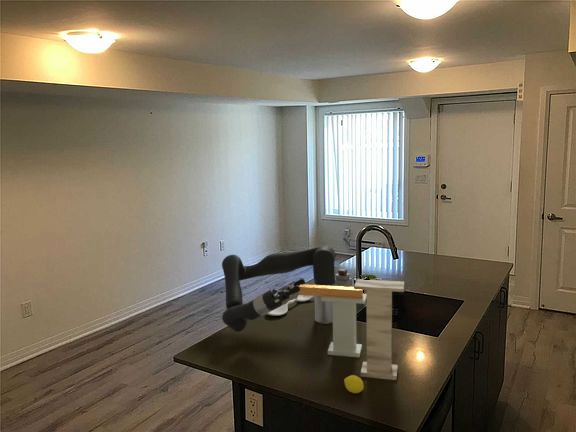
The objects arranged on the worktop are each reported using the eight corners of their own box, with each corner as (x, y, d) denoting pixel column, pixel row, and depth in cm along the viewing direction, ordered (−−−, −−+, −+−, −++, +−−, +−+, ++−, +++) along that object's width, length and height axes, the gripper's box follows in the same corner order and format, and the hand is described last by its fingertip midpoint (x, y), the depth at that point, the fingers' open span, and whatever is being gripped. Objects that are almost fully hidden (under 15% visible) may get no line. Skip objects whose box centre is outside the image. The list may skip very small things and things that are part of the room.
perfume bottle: (340, 302, 235) (339, 267, 232) (352, 305, 231) (352, 269, 228) (333, 306, 229) (332, 270, 226) (345, 309, 225) (345, 272, 222)
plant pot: (357, 295, 245) (357, 278, 243) (361, 289, 253) (361, 273, 252) (375, 296, 241) (375, 280, 240) (378, 290, 250) (378, 274, 249)
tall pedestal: (357, 364, 171) (356, 279, 166) (403, 369, 167) (404, 281, 162) (354, 375, 164) (353, 286, 158) (402, 380, 159) (403, 288, 154)
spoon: (316, 299, 240) (316, 293, 240) (277, 320, 215) (276, 313, 215) (301, 296, 246) (301, 290, 245) (261, 316, 221) (261, 309, 220)
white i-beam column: (326, 344, 188) (325, 291, 184) (367, 348, 184) (366, 293, 180) (322, 354, 181) (321, 298, 177) (364, 357, 176) (364, 301, 173)
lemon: (366, 392, 154) (368, 377, 153) (357, 399, 150) (359, 384, 149) (348, 383, 158) (349, 368, 157) (339, 390, 154) (340, 375, 153)
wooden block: (300, 292, 185) (300, 284, 184) (363, 295, 178) (363, 287, 178) (298, 294, 182) (298, 286, 181) (362, 298, 175) (362, 290, 175)
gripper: (277, 304, 194) (310, 286, 189) (267, 317, 180) (302, 298, 175) (268, 288, 194) (301, 270, 188) (256, 300, 180) (291, 281, 175)
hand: (301, 284), depth 182 cm, fingers open, 8 cm apart
